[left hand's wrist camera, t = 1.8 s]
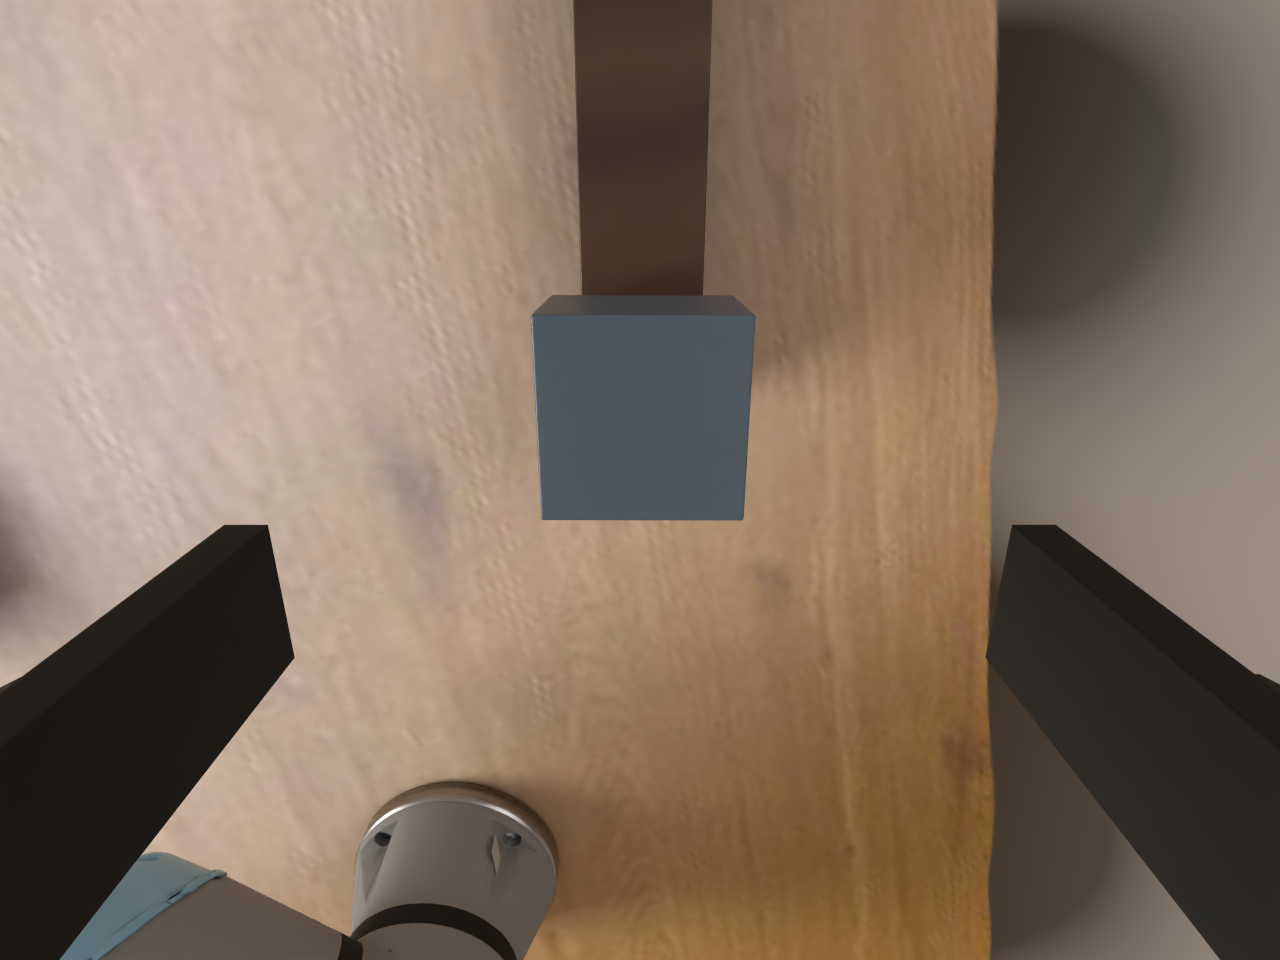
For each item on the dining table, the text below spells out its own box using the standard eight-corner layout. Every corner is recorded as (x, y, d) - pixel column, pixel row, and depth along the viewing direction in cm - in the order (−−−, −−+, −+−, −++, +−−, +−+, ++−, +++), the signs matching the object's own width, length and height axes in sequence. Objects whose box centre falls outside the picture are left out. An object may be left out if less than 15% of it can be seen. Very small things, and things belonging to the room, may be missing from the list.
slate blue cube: (725, 467, 30) (744, 521, 25) (558, 467, 30) (540, 520, 25) (734, 295, 27) (755, 315, 22) (550, 294, 27) (530, 314, 22)
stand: (690, 397, 43) (716, 491, 28) (591, 397, 43) (567, 491, 28) (706, -137, 34) (755, -400, 19) (579, -138, 34) (534, -401, 19)
